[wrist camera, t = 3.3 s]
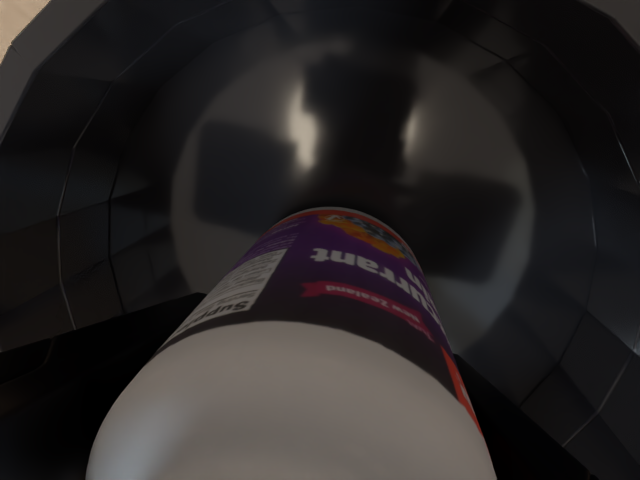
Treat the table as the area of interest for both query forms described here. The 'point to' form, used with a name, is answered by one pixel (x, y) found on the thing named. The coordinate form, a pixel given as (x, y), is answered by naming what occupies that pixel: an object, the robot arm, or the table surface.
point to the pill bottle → (302, 371)
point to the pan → (345, 172)
